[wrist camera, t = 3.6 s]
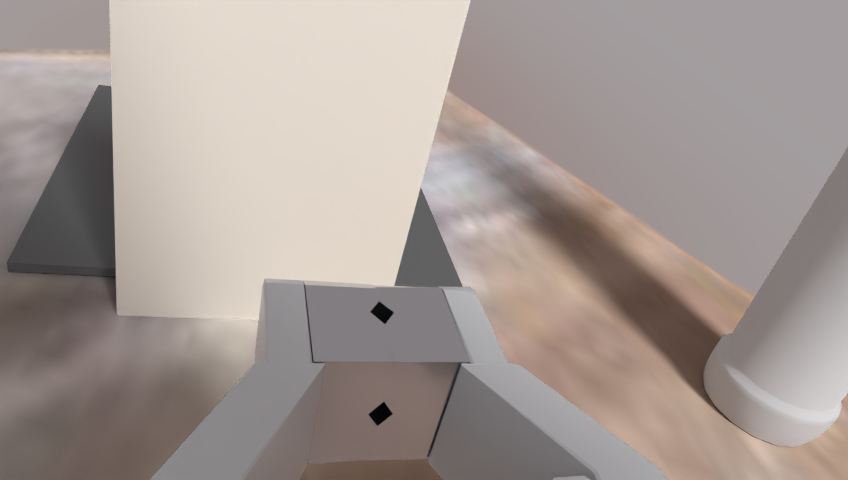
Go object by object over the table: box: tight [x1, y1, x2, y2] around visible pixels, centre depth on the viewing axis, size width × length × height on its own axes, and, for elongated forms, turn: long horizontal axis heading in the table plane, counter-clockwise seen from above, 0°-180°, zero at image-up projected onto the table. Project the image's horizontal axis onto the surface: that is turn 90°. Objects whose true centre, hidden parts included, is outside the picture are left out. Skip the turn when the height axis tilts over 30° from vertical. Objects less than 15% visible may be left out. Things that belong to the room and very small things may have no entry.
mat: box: [7, 85, 462, 288], centre depth 33 cm, size 18×18×1 cm
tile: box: [109, 0, 471, 320], centre depth 22 cm, size 10×2×14 cm, turn 102°
